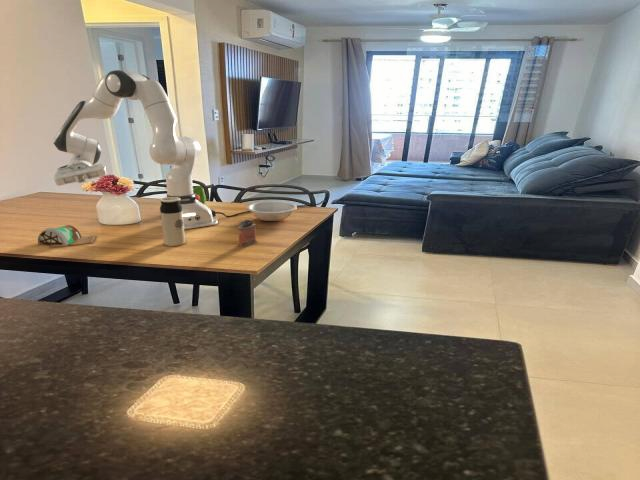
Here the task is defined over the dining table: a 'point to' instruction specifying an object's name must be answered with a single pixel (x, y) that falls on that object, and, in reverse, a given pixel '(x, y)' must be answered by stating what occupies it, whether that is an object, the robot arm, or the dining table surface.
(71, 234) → the food container
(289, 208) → the soup bowl
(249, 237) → the red tin
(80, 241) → the cork pad
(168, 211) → the travel mug
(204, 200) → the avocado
